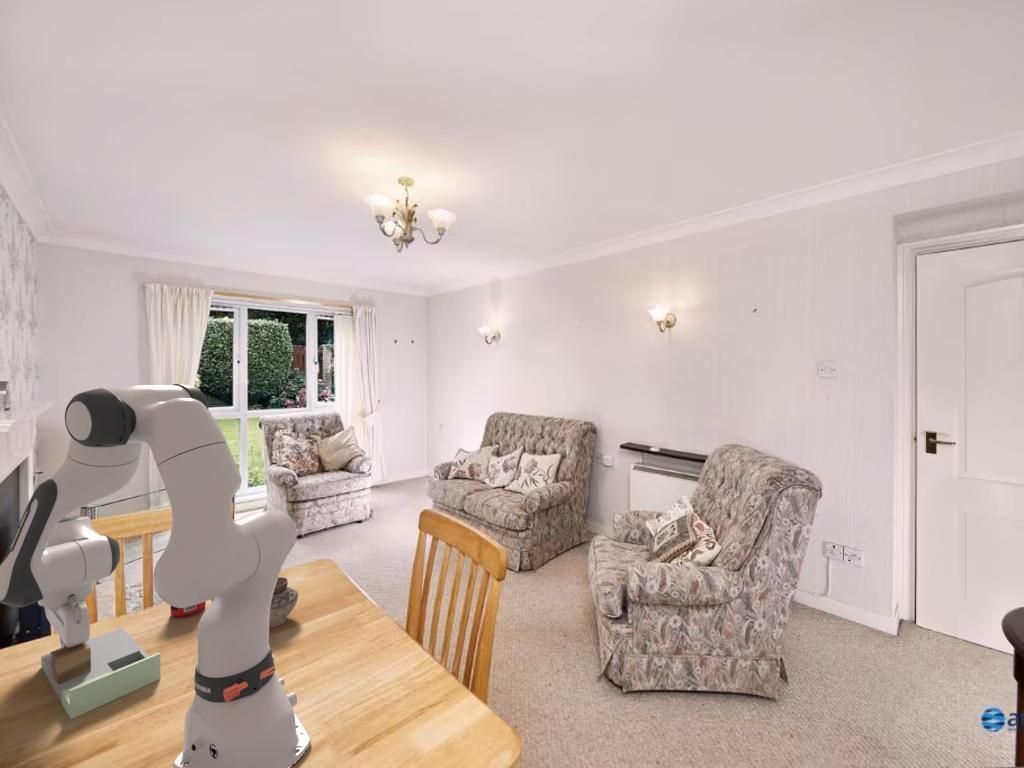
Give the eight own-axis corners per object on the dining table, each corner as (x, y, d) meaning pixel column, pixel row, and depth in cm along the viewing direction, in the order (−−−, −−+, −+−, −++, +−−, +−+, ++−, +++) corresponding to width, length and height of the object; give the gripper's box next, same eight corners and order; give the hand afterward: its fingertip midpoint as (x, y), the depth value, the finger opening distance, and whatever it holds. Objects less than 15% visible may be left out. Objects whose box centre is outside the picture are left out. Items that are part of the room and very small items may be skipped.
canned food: (212, 604, 127) (212, 566, 127) (189, 619, 119) (189, 579, 119) (187, 603, 128) (187, 565, 128) (163, 618, 120) (162, 577, 120)
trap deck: (160, 678, 96) (160, 653, 96) (70, 719, 85) (70, 691, 85) (122, 637, 111) (121, 615, 111) (41, 667, 100) (41, 643, 100)
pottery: (234, 601, 129) (234, 560, 129) (307, 614, 123) (307, 571, 122) (198, 622, 118) (197, 577, 118) (275, 637, 112) (275, 590, 112)
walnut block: (90, 670, 95) (90, 647, 95) (58, 684, 91) (57, 660, 91) (83, 662, 98) (82, 640, 98) (50, 675, 93) (50, 652, 93)
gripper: (99, 597, 96) (99, 660, 97) (74, 572, 108) (75, 628, 108) (57, 609, 91) (58, 676, 91) (36, 582, 103) (37, 641, 103)
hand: (67, 650), depth 100 cm, fingers closed
